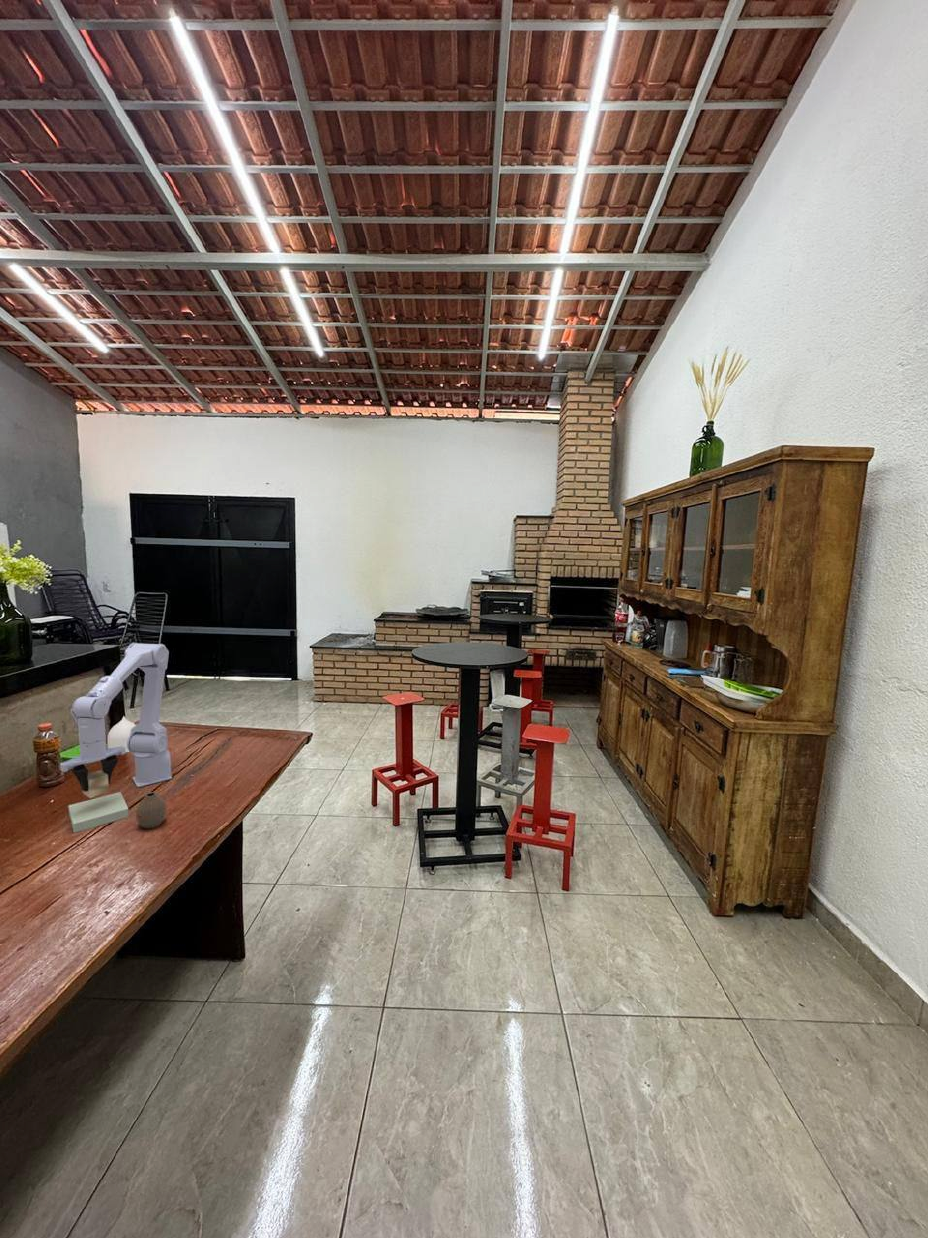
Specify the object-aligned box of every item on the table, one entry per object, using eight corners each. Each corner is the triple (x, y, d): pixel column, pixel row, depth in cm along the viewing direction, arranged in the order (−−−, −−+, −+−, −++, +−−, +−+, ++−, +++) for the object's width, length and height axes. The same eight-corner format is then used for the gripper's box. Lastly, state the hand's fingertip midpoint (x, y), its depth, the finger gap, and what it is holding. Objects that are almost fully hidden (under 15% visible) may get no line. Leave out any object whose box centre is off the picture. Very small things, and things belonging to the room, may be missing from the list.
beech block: (101, 787, 138) (100, 770, 137) (109, 791, 136) (107, 774, 135) (82, 793, 134) (81, 776, 133) (89, 798, 132) (88, 780, 131)
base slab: (121, 800, 144) (120, 792, 144) (128, 817, 135) (128, 808, 135) (69, 814, 136) (68, 805, 135) (73, 833, 127) (73, 824, 127)
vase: (173, 820, 134) (171, 790, 133) (149, 834, 128) (148, 803, 127) (154, 815, 137) (152, 786, 135) (130, 828, 130) (128, 797, 129)
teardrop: (150, 743, 184) (149, 713, 182) (122, 755, 173) (120, 722, 172) (129, 739, 187) (127, 709, 185) (99, 750, 177) (97, 718, 175)
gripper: (116, 728, 141) (119, 773, 143) (53, 744, 128) (57, 792, 130) (127, 734, 137) (130, 779, 139) (64, 751, 125) (68, 801, 127)
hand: (96, 786), depth 134 cm, fingers closed on beech block, 4 cm apart
